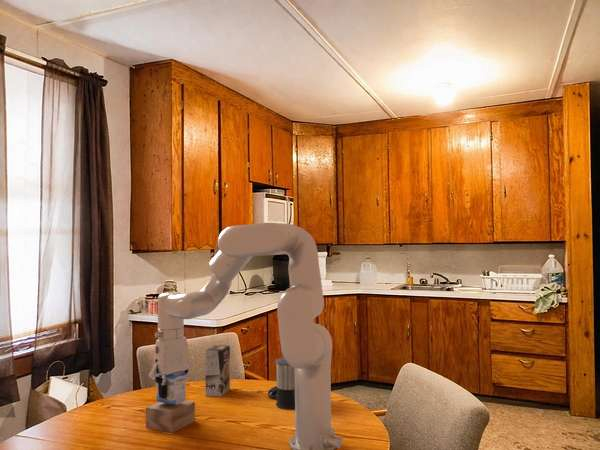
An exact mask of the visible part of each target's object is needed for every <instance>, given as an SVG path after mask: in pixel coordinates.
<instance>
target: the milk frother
mask: <svg viewBox="0 0 600 450" xmlns="http://www.w3.org/2000/svg"><path fill="white" fill-rule="evenodd" d="M275 364H276V367H275V368H276V385H275V386H273V387H271V388H270V389H269V390H268V391H267V396H268V398H270V399H274V400H276V403H275V406H276V407H278V408H279V409H283V410H295V368H294V367H292V366H290V365H289V364H288V363H287V362H286V360H285V359H284V357H279V358H277V359H275Z"/></svg>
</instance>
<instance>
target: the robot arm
mask: <svg viewBox="0 0 600 450" xmlns="http://www.w3.org/2000/svg"><path fill="white" fill-rule="evenodd" d="M217 248H218V252H217V253H216V254H215V255H214V256H213V257H212V258H211V260H210V261H209V263H208V268H209V270H210V271H209V272H211V277H210V279H209V280H208V281H207V283H206V284H205V285H204V286H203V287H202V289H201V290H198V291H192V292H186V293H181V292H176V291H175V292H173V291H171V292H163V293H160V294H159V295H158V297H157V332H154V337H155V338H157V339H156V340H155V345H154V350H153V351H154V352H153V365H152V368H151V370H150V372H149V373H148V377H149V378H150V379H152V380H153V381H154V382H155V383H156V385H157V384H158V394H159V397H160V398H163V399H166V398H167V385H166V384H165V383H166V378H167V375H170V374H174V373H178V372H185V373H186V375H187V374H188V373H189V371H190V369H191V368H192V367H193V365H192V363H191V361H190V351H189V346H188V344H189V343H188V338H187V337H186V336H185V329H184V325H185V324H184V320H192V319H196V318H198V317H203V316H207V315H208V314H210V313H212V312H213V311H214V310H215V309H216V308H217V307H218V306H219V304H221V302H223V300H224V299H225V298H226V297H227V295H228V293H229V291H230V288H231V286H232V282H233V280H234V279H235V278H236V277H237V275H238V274H239V273H240V272H241V271H242V269H243V268H245V266H246V265H247V264H248V263H249V262H250V261H251V259H252V258H253V257H258V256H274V255H275V256H277V255H287V256H288V258H289V259H288V261H289V262H288V271H287V272H288V277H289V278H288V280H289V288H287V289H285V290H284V291H283V292H282V293H281V294H280V296H279V299H278V302H277V309H276V310H277V313H276V314H277V322H278V332H279V339H280V340H279V341H280V348H281V349H280V350H281V353H282V356H283V358H284V359H285V360H286V362H287V363H288V364H289V365H290V366H292V367H294V368H295V409H294V417H295V418H294V420H295V423H294V428H295V433H294V435H292V436H291V437H290V439H289V446H290V448H291V450H335V449H336V448H337V449H341V447H342V445H343V440H344V439H343V438H344V437H342V436H339V435H336V433H335V432H336V431H335V430H336V428H334V427H332V402H331V401H332V399H331V398H332V397H331V395H332V393H331V391H332V390H331V389H332V388H331V387H332V386H331V385H332V383H331V381H332V379H331V378H332V377H331V373H332V371H331V369H332V368H331V367H332V366H331V364H332V357H333V356H332V354H333V339H332V336H331V334H330V332H329V330H328V329H327V328H326V327H325V326H324V325H322V324H319V323H315V318H317V317H318V316H319V315H321V314H322V312H323V310H324V307H325V306H324V305H325V304H324V303H325V300H324V293H323V285H322V277H321V276H322V275H321V269H320V263H319V262H320V261H319V253H318V247H317V244H316V241H315V239H314V237H313V236H312V235H311V234H310V233H309V232H308V231H307V230H305V229H304V228H302V227H301V226H297V225H294V224H290V223H283V222H281V223H279V222H263V223H252V224H251V223H250V224H240V225H231V226H227V227H225V228H224V229H223V230H222V231H221V232H220V233H219V236H218V237H217ZM157 373H158V376H157Z"/></svg>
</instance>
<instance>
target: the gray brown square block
mask: <svg viewBox="0 0 600 450" xmlns="http://www.w3.org/2000/svg"><path fill="white" fill-rule="evenodd" d="M195 405H196V402H195V401H191V400H187V399H186V401H184V402H182V403H179V404H177V405H174V404H168V403H162V402H156V403H153V404H151V405H150V404H149V405H148V406H146V407H145V428H147V429H152V430H156V431H160V432H165V433H170V434H173V433H175V432H176V431H179V430H180V429H182V428H184V427H186V426H189V425H190V424H193V423H194V422H195V421H196V406H195Z"/></svg>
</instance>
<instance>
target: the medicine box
mask: <svg viewBox="0 0 600 450" xmlns="http://www.w3.org/2000/svg"><path fill="white" fill-rule="evenodd" d="M156 375H157V376H158V373H156ZM186 377H187V374H186V373H185V372H178V373H174V374H170V375H167V378H166V383H165V384H166V385H167V398H166V399H163V398H160V397H159V394H158V384H157V383H156V394H155V395H156V398H155V399H156V400H155V401H156V403H158V402H162V403H168V404H174V405H177V404H179V403H182V402H184V401H186V400H187V397H186V396H187V392H186V391H187V386H186V385H187V384H186V383H187V378H186Z"/></svg>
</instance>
